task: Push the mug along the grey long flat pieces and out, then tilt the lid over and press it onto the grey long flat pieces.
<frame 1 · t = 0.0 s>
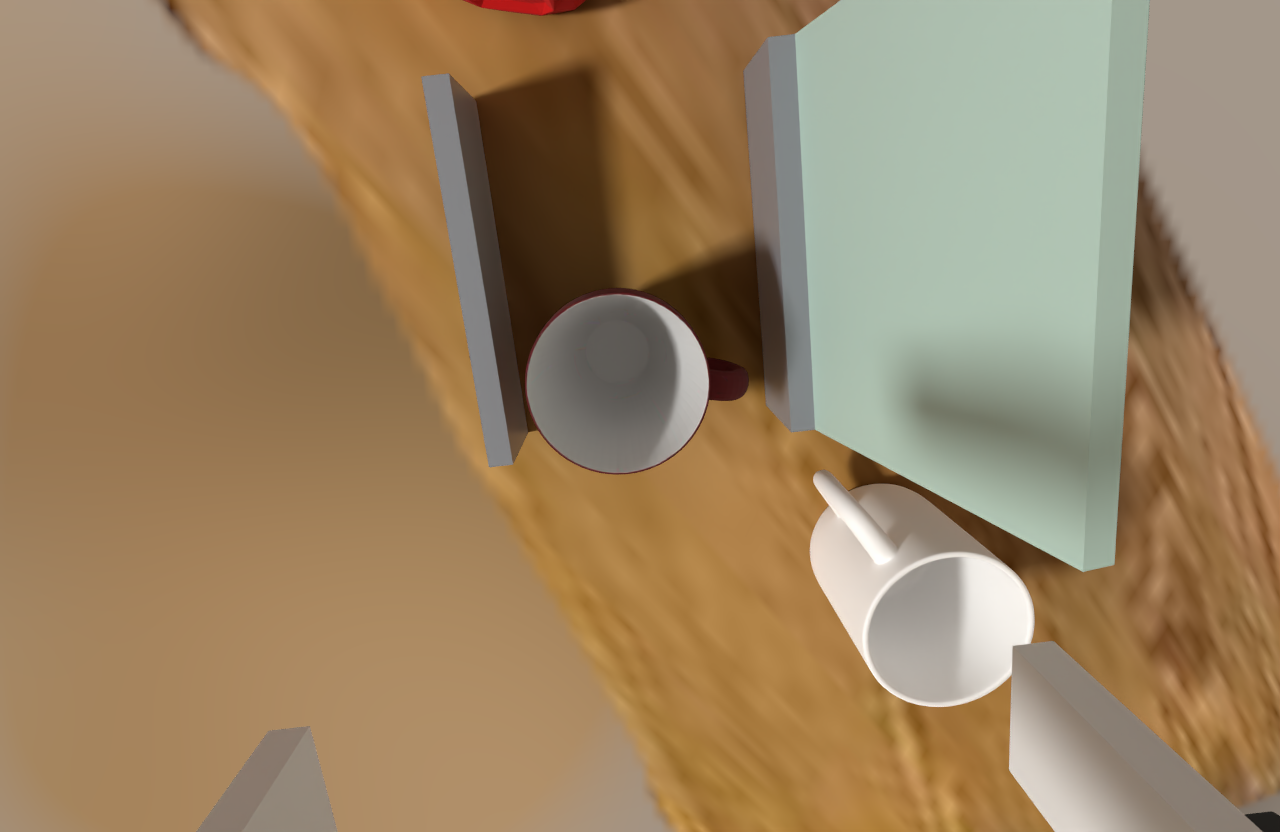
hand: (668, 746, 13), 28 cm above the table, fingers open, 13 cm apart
grey long flat pieces: (629, 262, 38), on the table
mug: (639, 350, 39), on the table
cup: (854, 520, 42), on the table
lid: (918, 239, 25), point 14 cm above the table, hinge at 100.0°
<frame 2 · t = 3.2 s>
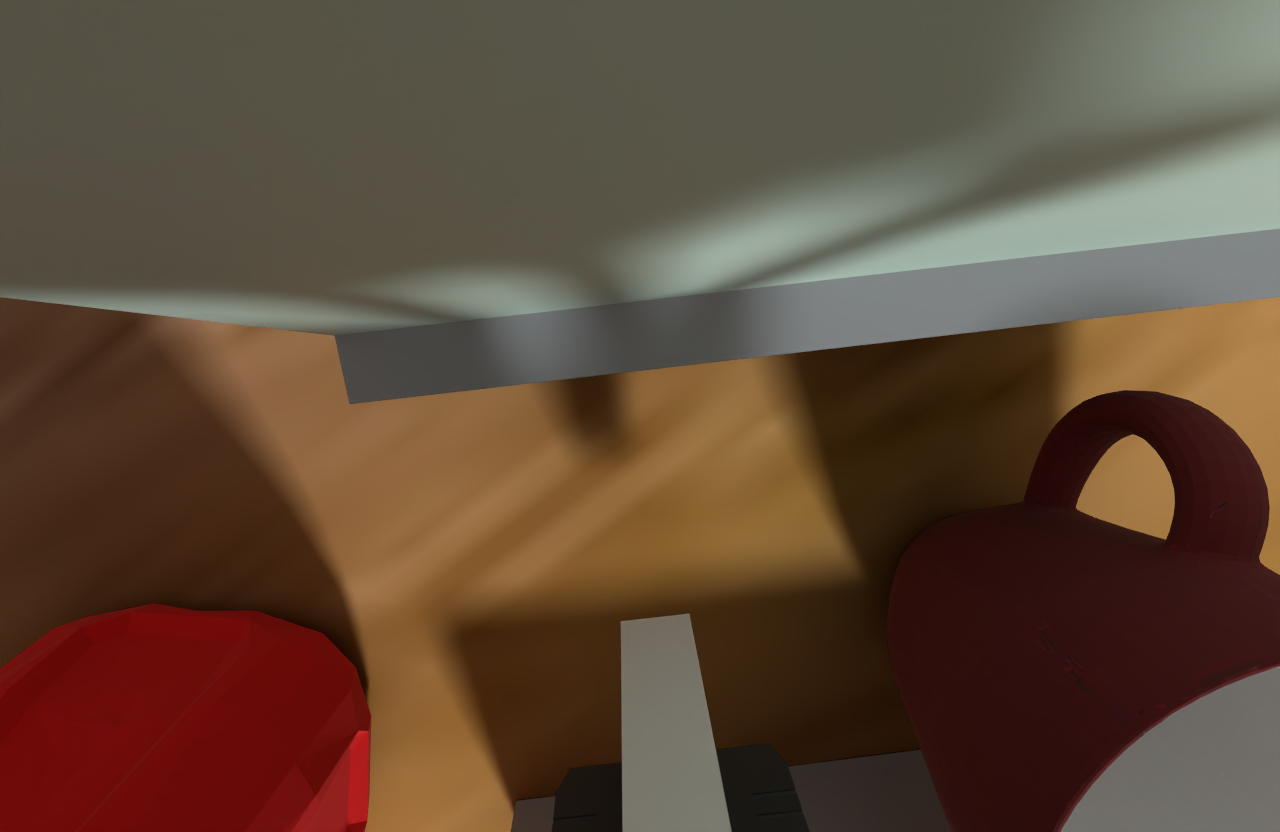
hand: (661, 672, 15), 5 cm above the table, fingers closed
grey long flat pieces: (792, 558, 20), on the table
mug: (961, 534, 20), on the table
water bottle: (227, 752, 21), on the table
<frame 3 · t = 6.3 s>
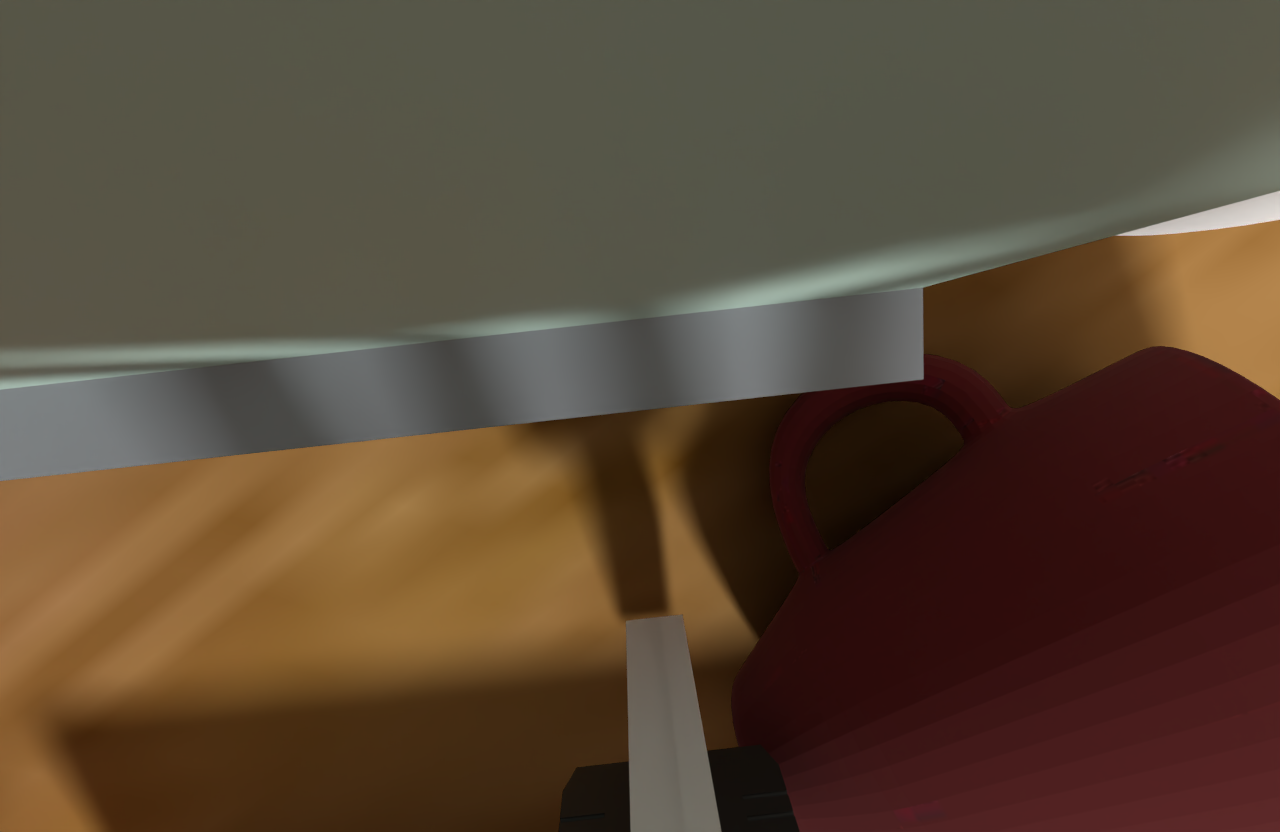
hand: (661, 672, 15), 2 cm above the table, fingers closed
grey long flat pieces: (450, 654, 17), on the table
mug: (741, 717, 15), point 2 cm above the table, touching gripper
cup: (1186, 33, 14), on the table
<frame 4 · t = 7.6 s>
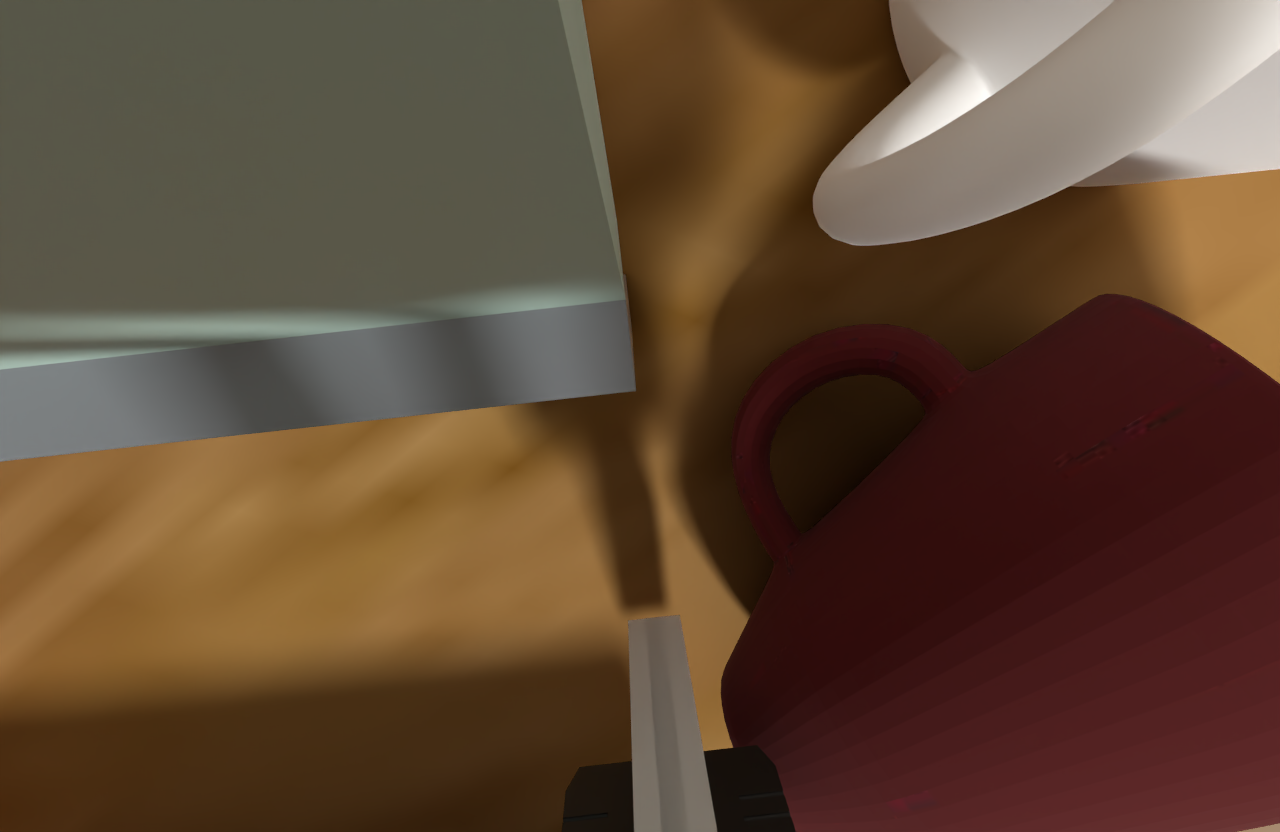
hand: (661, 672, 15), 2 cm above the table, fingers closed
grey long flat pieces: (295, 657, 17), on the table
mug: (734, 708, 15), point 2 cm above the table, touching gripper
cup: (1000, 36, 14), on the table
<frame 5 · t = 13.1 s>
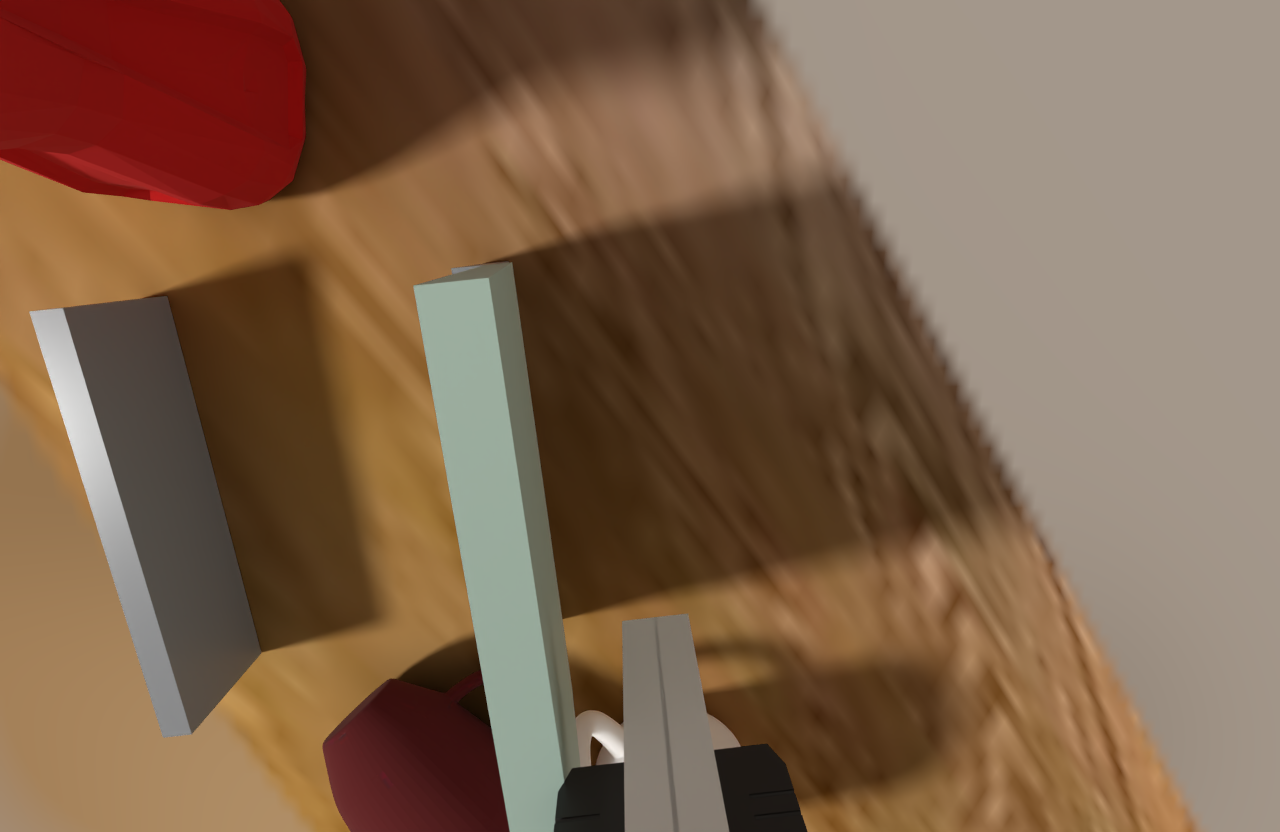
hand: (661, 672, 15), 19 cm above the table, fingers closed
grey long flat pieces: (364, 470, 33), on the table
mug: (375, 687, 33), point 2 cm above the table
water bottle: (185, 90, 29), on the table
cup: (648, 741, 37), on the table
lid: (534, 593, 19), point 14 cm above the table, hinge at 96.9°, touching grey long flat pieces, gripper
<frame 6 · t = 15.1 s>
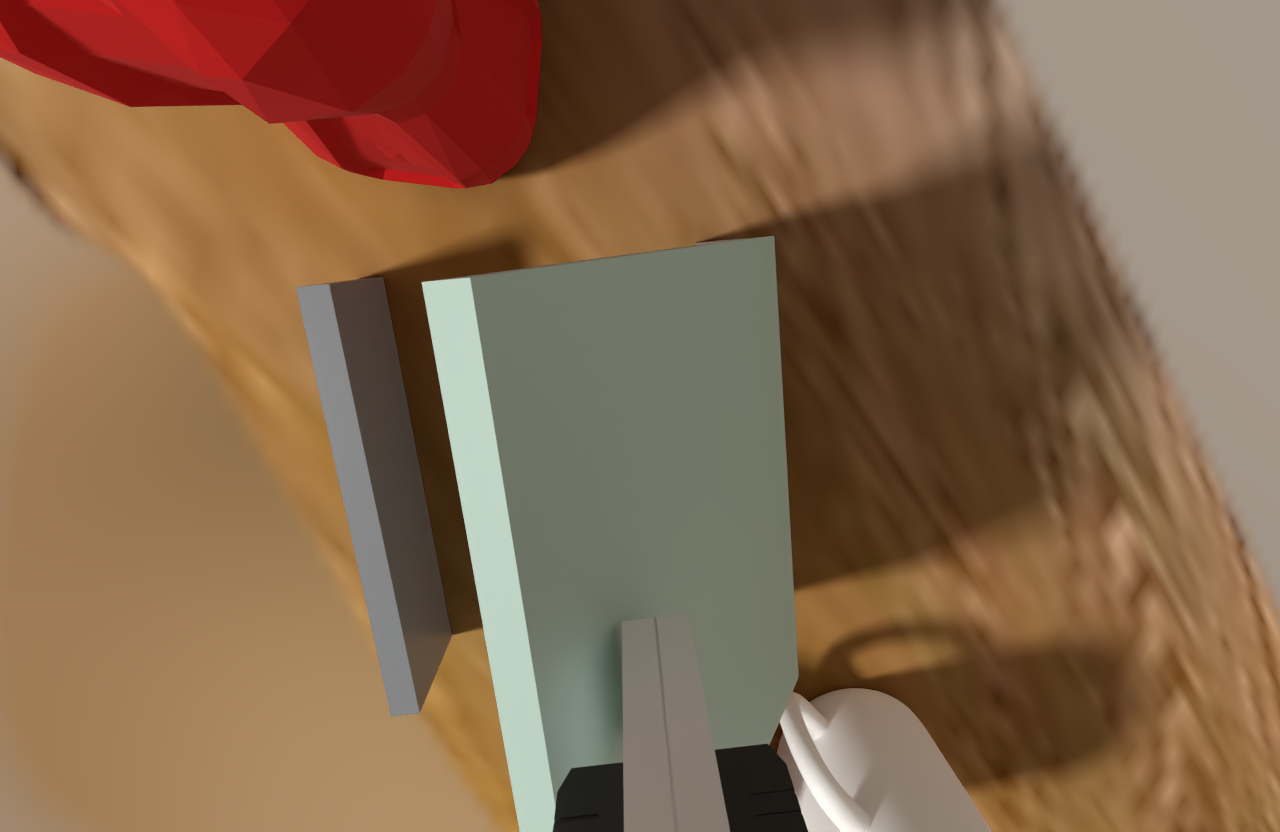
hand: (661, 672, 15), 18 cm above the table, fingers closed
grey long flat pieces: (565, 451, 33), on the table
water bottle: (412, 70, 29), on the table
cup: (827, 724, 37), on the table
lid: (694, 568, 20), point 13 cm above the table, hinge at 61.0°, touching gripper
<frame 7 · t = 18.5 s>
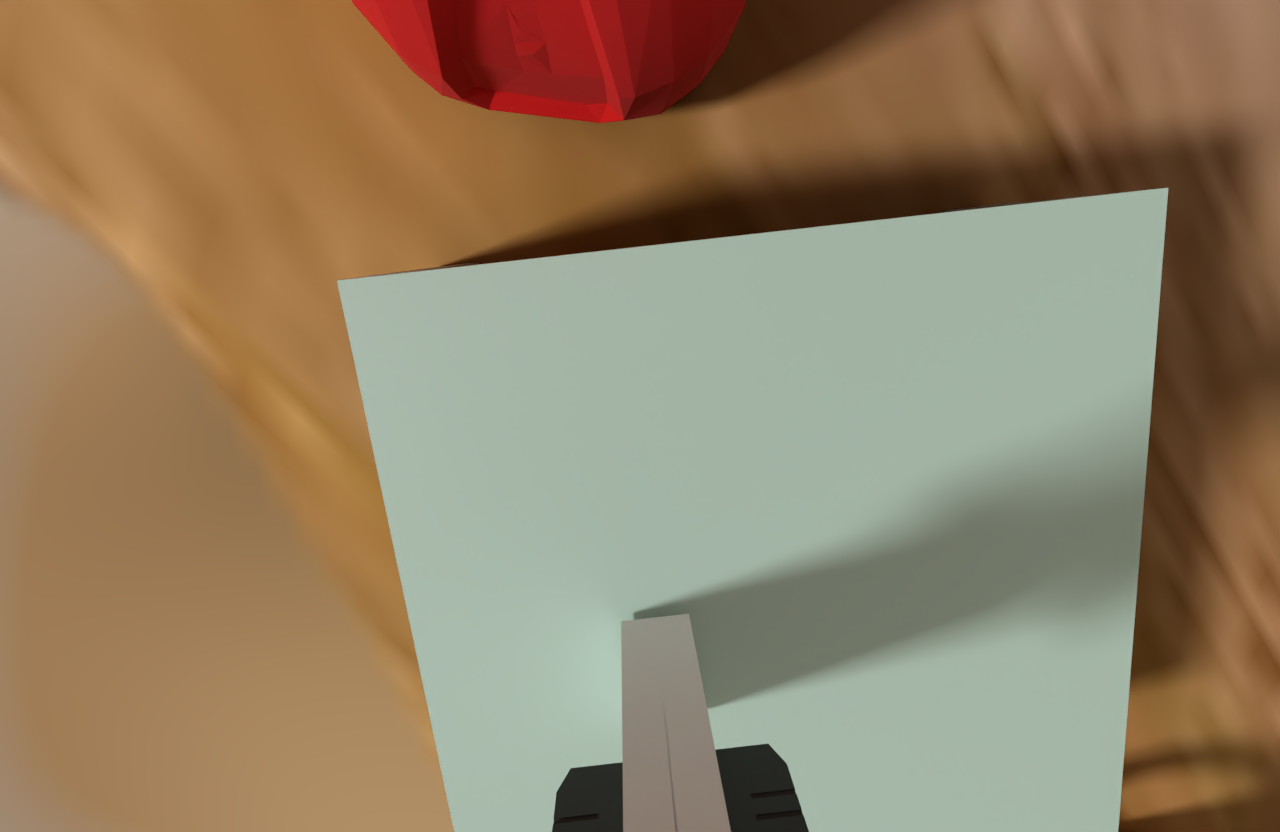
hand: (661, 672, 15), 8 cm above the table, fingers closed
grey long flat pieces: (734, 516, 23), on the table
lid: (785, 630, 16), point 7 cm above the table, hinge at 3.0°, touching grey long flat pieces, gripper
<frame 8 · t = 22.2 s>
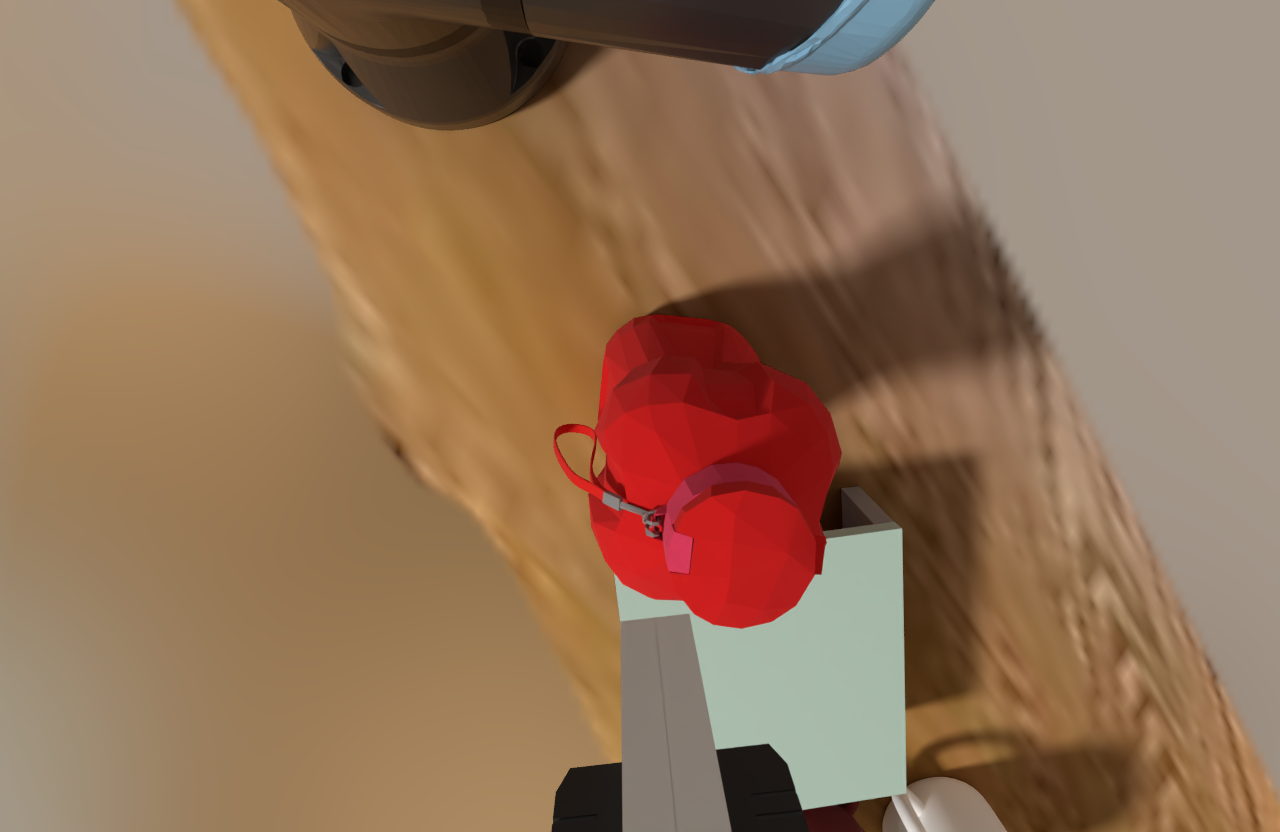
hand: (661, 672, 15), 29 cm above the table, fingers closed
grey long flat pieces: (745, 621, 48), on the table
mug: (752, 769, 48), point 2 cm above the table
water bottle: (660, 385, 44), on the table
cup: (918, 801, 52), on the table
lid: (767, 682, 41), point 7 cm above the table, hinge at 3.0°, touching grey long flat pieces
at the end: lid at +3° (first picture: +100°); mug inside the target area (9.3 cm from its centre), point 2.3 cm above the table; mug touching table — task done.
